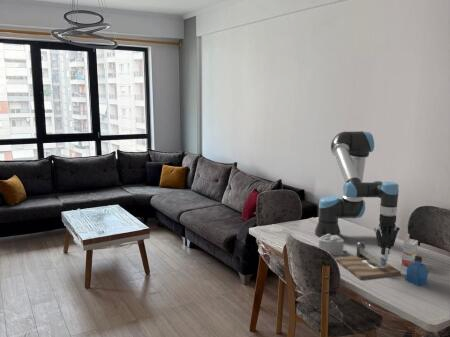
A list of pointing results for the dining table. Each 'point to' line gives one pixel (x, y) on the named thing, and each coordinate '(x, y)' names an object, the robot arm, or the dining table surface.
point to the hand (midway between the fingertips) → (384, 260)
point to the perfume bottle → (417, 272)
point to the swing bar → (369, 254)
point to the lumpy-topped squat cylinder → (331, 244)
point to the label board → (366, 267)
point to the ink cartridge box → (409, 250)
